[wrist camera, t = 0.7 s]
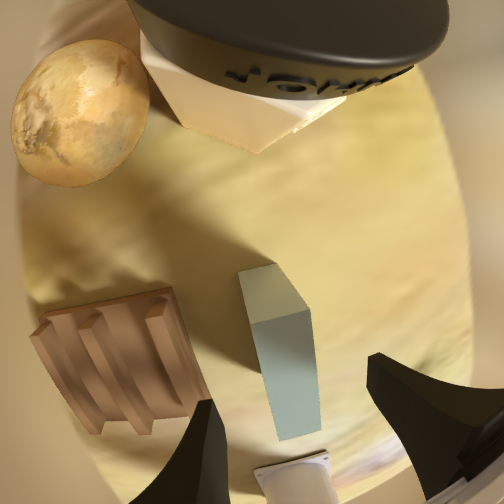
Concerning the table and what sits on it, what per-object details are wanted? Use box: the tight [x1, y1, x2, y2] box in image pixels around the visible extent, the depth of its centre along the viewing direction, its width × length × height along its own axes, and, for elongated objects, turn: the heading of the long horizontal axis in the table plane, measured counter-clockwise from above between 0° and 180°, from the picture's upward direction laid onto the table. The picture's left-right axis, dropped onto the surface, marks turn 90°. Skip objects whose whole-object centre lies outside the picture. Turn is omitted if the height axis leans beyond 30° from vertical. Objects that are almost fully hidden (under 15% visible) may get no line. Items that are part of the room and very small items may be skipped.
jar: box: [127, 0, 449, 154], centre depth 8 cm, size 9×8×12 cm
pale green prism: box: [238, 263, 321, 442], centre depth 15 cm, size 8×2×6 cm, turn 11°
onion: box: [11, 39, 150, 188], centre depth 10 cm, size 8×8×7 cm
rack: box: [29, 287, 212, 435], centre depth 16 cm, size 10×10×3 cm
